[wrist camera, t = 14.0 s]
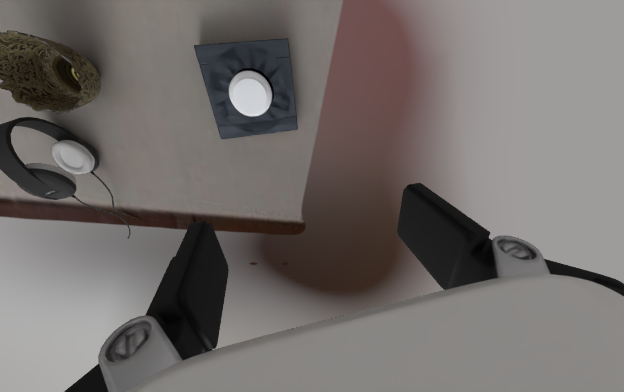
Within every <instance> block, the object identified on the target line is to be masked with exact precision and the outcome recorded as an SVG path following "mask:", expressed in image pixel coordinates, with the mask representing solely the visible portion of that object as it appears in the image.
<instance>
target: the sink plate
mask: <svg viewBox="0 0 624 392" xmlns="http://www.w3.org/2000/svg"><path fill="white" fill-rule="evenodd" d="M194 48H195V51H196V55H197V58H198V62H199V64H200V68H201V72H202V75H203V79H204V82H205V85H206V89H207V92H208V96H209V99H210V102H211V106H212V109H213V113H214V116H215V120H216V123H217V126H218V130H219V133H220V136H221V139H228V138H235V137H243V136H251V135H258V134H266V133H274V132H281V131H289V130H297V129H298V126H297V117H296V107H295V98H294V89H293V80H292V71H291V61H290V52H289V43H288V39H275V40H261V41H247V42H234V43H220V44H206V45H194ZM249 68H253V69H256V70H259V71H261V72H262V73H263V74H264V75H266V76H267V77H268V79H269V81H270V83H271V85H272V91H273V95H272V101H271V104H270V106H269V108H268V110H267V111H266V112H265V113H263V114H261V115H259V116H247V115H244V114H242V113H240V112H239V111H238V110H237V109H236V108H235V107H234V105H233V104H232V102H231V100H230V97H229V85H230V82H231V80H232V79H233V77H234V76H235V75H237V73H239V72H240V71H242V70H243V69H249Z"/></svg>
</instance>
